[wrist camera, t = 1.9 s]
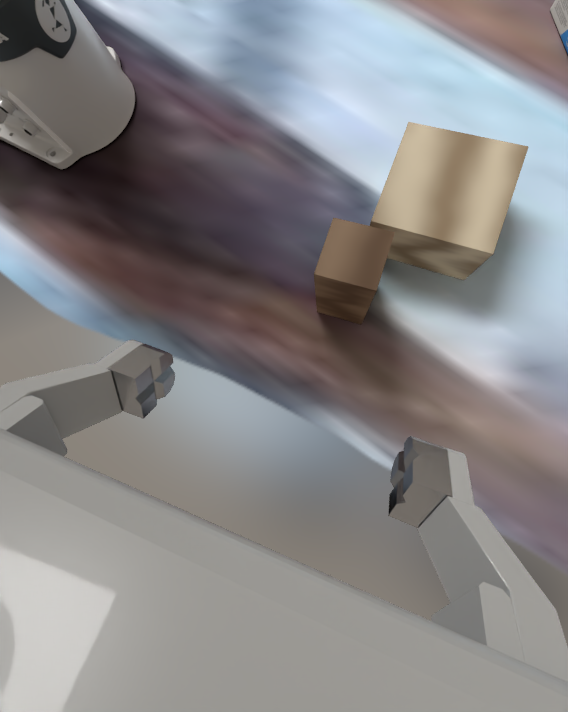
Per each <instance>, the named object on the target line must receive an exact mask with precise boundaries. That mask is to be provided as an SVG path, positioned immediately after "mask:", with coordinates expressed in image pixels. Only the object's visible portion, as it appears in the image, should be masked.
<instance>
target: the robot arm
mask: <svg viewBox="0 0 568 712" xmlns="http://www.w3.org/2000/svg"><path fill="white" fill-rule="evenodd" d="M134 105H135V92H134V88H133V85H132V83H131V81H130V80H129V78H128V77H127V76H126V75H125V73H124V72H123V71H122V69H121V64H120V60H119V57H118V55H117V54H116V52H115V51H114V50H113V48H111V47H106V46H105V44H104V43H103V41H102V40H101V39H100V37H99V36H98V34H97V33H96V32H95V30H94V29H93V27H92V26H91V24H90V23H89V22H88V20H87V19H86V17H85V16H84V15H83V13H82V12H81V10H80V9H79V8H78V6H77V5H76V3H75V2H74V1H73V0H0V139H1V140H3V141H5V142H7V143H9V144H11V145H13V146H15V147H17V148H19V149H21V150H23V151H25V152H27V153H29V154H31V155H33V156H35V157H37V158H39V159H41V160H43V161H45V162H47V163H49V164H51V165H53V166H55V167H56V168H59V169H65V168H67V167H69V166H70V165H72V164H73V163H74V162H76V161H77V160H78V159H79V158H80V157H82V156H85V155H87V154H90V153H92V152H95V151H97V150H99V149H101V148H103V147H105V146H106V145H108V144H109V143H111V142H112V141H113V140H114V139H115V138H116V137H118V136H119V134H120V133H121V132H122V131H123V130H124V128H125V127H126V125H127V124H128V122H129V120H130V118H131V116H132V113H133V110H134ZM172 363H173V357H172V355H171V354H170V353H168V352H165V351H163V350H160V349H157V348H155V347H152V346H149V345H147V344H143V343H141V342H138V341H135V340H128V341H126V342H125V343H124V344H122V345H121V346H119V347H118V348H116V349H115V350H113V351H112V352H111V353H109V354H108V355H106V356H105V357H103V358H102V359H100V360H99V361H98V362H96V363H95V364H91V363H87V364H84V365H79V366H75V367H71V368H67V369H63V370H59V371H55V372H51V373H46V374H42V375H38V376H34V377H29V378H25V379H21V380H17V381H13V382H9V383H5V384H4V385H2V386H0V712H568V647H567V644H566V641H565V637H564V634H563V631H562V627H561V624H560V621H559V618H558V614H557V611H556V609H555V608H554V607H553V605H552V604H551V603H550V601H549V600H548V599H547V597H546V596H545V595H544V593H543V592H542V590H541V589H540V588H539V586H538V585H537V584H536V582H535V581H534V580H533V578H532V577H531V576H530V574H529V573H528V571H527V570H526V569H525V567H524V566H523V565H522V563H521V562H520V561H519V559H518V558H517V557H516V555H515V554H514V553H513V551H512V550H511V549H510V547H509V546H508V544H507V543H506V542H505V540H504V539H503V538H502V536H501V535H500V534H499V532H498V531H497V530H496V528H495V527H494V526H493V524H492V523H491V522H490V520H489V519H488V518H487V516H486V515H485V513H484V512H483V511H482V509H481V508H479V507H476V506H475V504H474V498H473V493H472V487H471V482H470V476H469V470H468V465H467V459H466V456H465V455H464V454H463V453H460V452H457V451H454V450H451V449H448V448H444V447H442V446H439V445H436V444H433V443H430V442H427V441H424V440H421V439H418V438H415V437H412V436H410V437H409V438H407V440H406V442H405V443H404V451H402V452H399V453H398V455H397V457H396V459H395V461H394V464H393V467H392V472H391V483H392V485H393V487H394V489H393V490H392V492H391V493H390V497H389V516H391V517H393V518H395V519H398V520H400V521H402V522H405V523H407V524H409V525H412V526H414V527H416V528H418V532H419V534H420V537H421V539H422V541H423V543H424V545H425V548H426V550H427V552H428V554H429V556H430V559H431V561H432V563H433V565H434V567H435V570H436V572H437V574H438V576H439V579H440V581H441V583H442V585H443V587H444V590H445V592H446V594H447V596H448V599H449V601H450V604H448V605H447V606H445V607H444V608H442V609H441V610H439V611H438V612H436V613H435V614H433V615H432V621H430V620H428V619H425V618H423V617H421V616H419V615H417V614H414V613H412V612H410V611H408V610H405V609H403V608H401V607H399V606H396V605H394V604H392V603H390V602H387V601H385V600H383V599H381V598H378V597H376V596H374V595H372V594H370V593H367V592H365V591H363V590H361V589H359V588H356V587H354V586H352V585H350V584H347V583H345V582H343V581H341V580H338V579H336V578H334V577H332V576H329V575H327V574H325V573H323V572H320V571H318V570H316V569H314V568H311V567H309V566H307V565H305V564H303V563H300V562H298V561H296V560H294V559H292V558H289V557H287V556H285V555H282V554H280V553H278V552H276V551H274V550H272V549H269V548H267V547H265V546H263V545H260V544H258V543H256V542H254V541H251V540H249V539H247V538H245V537H242V536H240V535H238V534H236V533H234V532H231V531H229V530H227V529H225V528H222V527H220V526H218V525H216V524H214V523H211V522H209V521H207V520H205V519H202V518H200V517H198V516H196V515H193V514H191V513H189V512H187V511H184V510H182V509H180V508H178V507H175V506H173V505H171V504H169V503H166V502H164V501H162V500H160V499H158V498H155V497H153V496H151V495H149V494H147V493H144V492H142V491H140V490H137V489H135V488H133V487H131V486H129V485H126V484H124V483H122V482H120V481H117V480H115V479H113V478H111V477H108V476H106V475H104V474H102V473H99V472H97V471H95V470H93V469H91V468H88V467H86V466H84V465H82V464H80V463H77V462H75V461H73V460H71V459H68V458H66V457H64V456H65V455H66V454H67V448H66V446H65V444H64V442H63V440H62V439H63V438H65V437H68V436H70V435H72V434H74V433H76V432H79V431H81V430H83V429H85V428H88V427H90V426H92V425H94V424H96V423H99V422H101V421H103V420H105V419H108V418H110V417H112V416H114V415H116V414H119V413H121V412H122V411H124V412H127V413H130V414H133V415H135V416H138V417H141V418H145V416H147V415H148V413H150V411H151V410H152V409H153V408H154V407H155V406H156V405H157V399H160V398H163V397H165V396H166V395H167V394H168V393H169V392H170V390H171V388H172V386H173V384H174V380H175V374H174V371H173V370H172V368H171V367H170V365H171V364H172Z"/></svg>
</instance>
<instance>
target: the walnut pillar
mask: <svg viewBox="0 0 568 712" xmlns="http://www.w3.org/2000/svg"><path fill="white" fill-rule="evenodd" d="M394 234H395V232H393V231H388V230H384V229H380V228H375V227H371V226H367V225H363V224H358V223H354V222H350V221H345V220H341V219H337V218H333V220H332V223H331V226H330V229H329V232H328V235H327V238H326V240H325V243H324V246H323V249H322V252H321V255H320V258H319V261H318V264H317V267H316V270H315V272H314V280H315V292H316V304H317V312H319V313H323V314H326V315H330V316H333V317H336V318H340V319H343V320H347V321H350V322H354V323H357V324H360V325H361V324H362V322H363V320H364V318H365V315H366V313H367V311H368V309H369V306H370V304H371V302H372V300H373V297H374V295H375V293H376V291H377V288H378V284H379V281H380V278H381V275H382V272H383V269H384V266H385V262H386V259H387V256H388V253H389V250H390V247H391V243H392V240H393V237H394Z"/></svg>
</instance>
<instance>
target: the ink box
mask: <svg viewBox="0 0 568 712" xmlns="http://www.w3.org/2000/svg"><path fill="white" fill-rule="evenodd" d="M550 11H551V14H552V16H553V19H554V21H555V24H556V26H557V29H558V31H559V34H560V36H561V39H562V41H563V44H564V46H565V49H566V51H567V54H568V0H555V2H554V3H553V5H552V7H551V9H550Z"/></svg>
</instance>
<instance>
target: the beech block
mask: <svg viewBox="0 0 568 712" xmlns="http://www.w3.org/2000/svg"><path fill="white" fill-rule="evenodd" d="M527 150H528V146H523V145H518V144H513V143H508V142H503V141H499V140H494V139H489V138H484V137H479V136H474V135H469V134H465V133H460V132H455V131H450V130H445V129H440V128H436V127H431V126H426V125H421V124H416V123H411V122H408V125H407V128H406V130H405V133H404V136H403V138H402V141H401V144H400V146H399V149H398V151H397V154H396V157H395V159H394V162H393V165H392V167H391V170H390V173H389V175H388V178H387V181H386V183H385V186H384V188H383V191H382V194H381V196H380V199H379V202H378V204H377V207H376V210H375V212H374V215H373V217H372V220H371V224H370V226H371V227H375V228H380V229H384V230H388V231H393V232H395V234H394V237H393V240H392V243H391V247H390V250H389V253H388V256H387V258H389V259H392V260H396V261H399V262H403V263H406V264H410V265H413V266H416V267H420V268H423V269H427V270H430V271H434V272H437V273H441V274H444V275H447V276H451V277H454V278H458V279H461V280H465V279H466V278H467V277H468V276H469V275H471V274H472V273H473V272H474V271H475V270H476V269H477V268H478V267H479V266H481V265H482V264H483V263H484V262H485V261H486V260H487V259H488V258H489V257H490V256H492V255H493V253H494V250H495V247H496V244H497V241H498V238H499V235H500V232H501V229H502V226H503V223H504V220H505V217H506V214H507V211H508V208H509V204H510V201H511V198H512V195H513V192H514V189H515V186H516V183H517V180H518V177H519V174H520V171H521V168H522V165H523V162H524V159H525V156H526V153H527Z"/></svg>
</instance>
